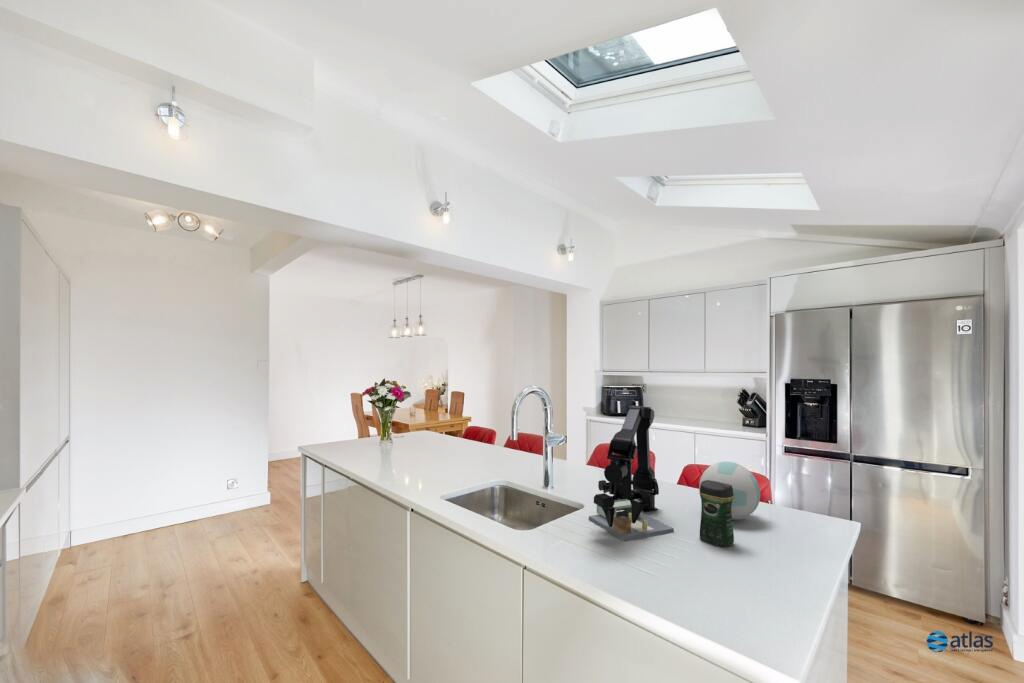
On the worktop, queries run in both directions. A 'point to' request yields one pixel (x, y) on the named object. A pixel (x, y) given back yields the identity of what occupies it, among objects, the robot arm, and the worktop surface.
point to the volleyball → (736, 486)
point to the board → (635, 526)
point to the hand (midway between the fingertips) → (622, 525)
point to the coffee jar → (716, 513)
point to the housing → (618, 508)
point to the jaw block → (622, 525)
